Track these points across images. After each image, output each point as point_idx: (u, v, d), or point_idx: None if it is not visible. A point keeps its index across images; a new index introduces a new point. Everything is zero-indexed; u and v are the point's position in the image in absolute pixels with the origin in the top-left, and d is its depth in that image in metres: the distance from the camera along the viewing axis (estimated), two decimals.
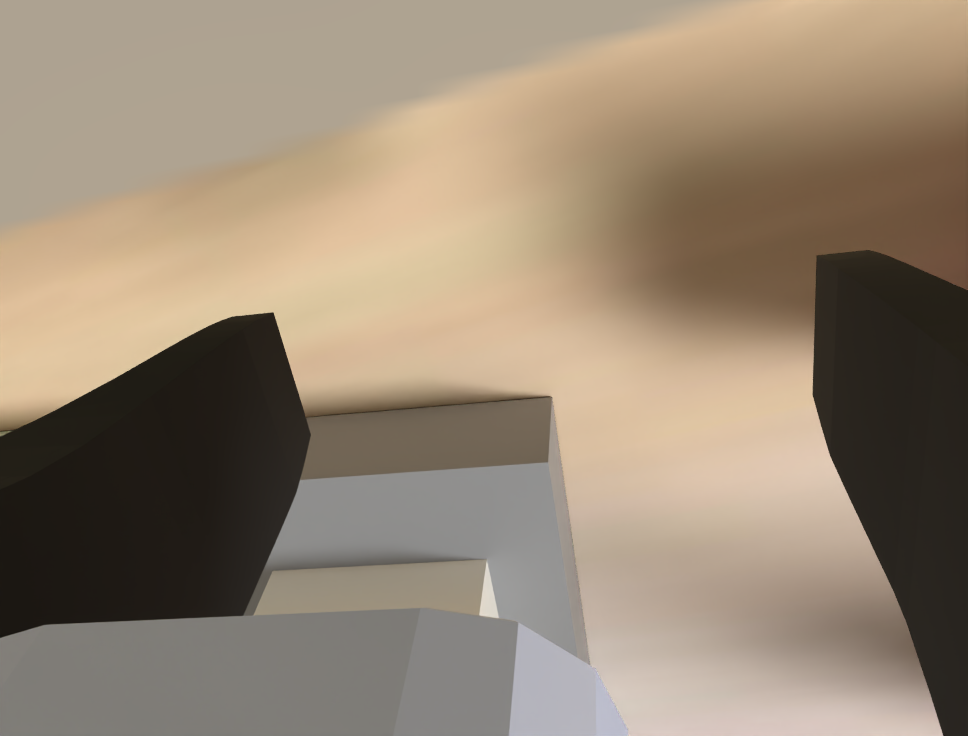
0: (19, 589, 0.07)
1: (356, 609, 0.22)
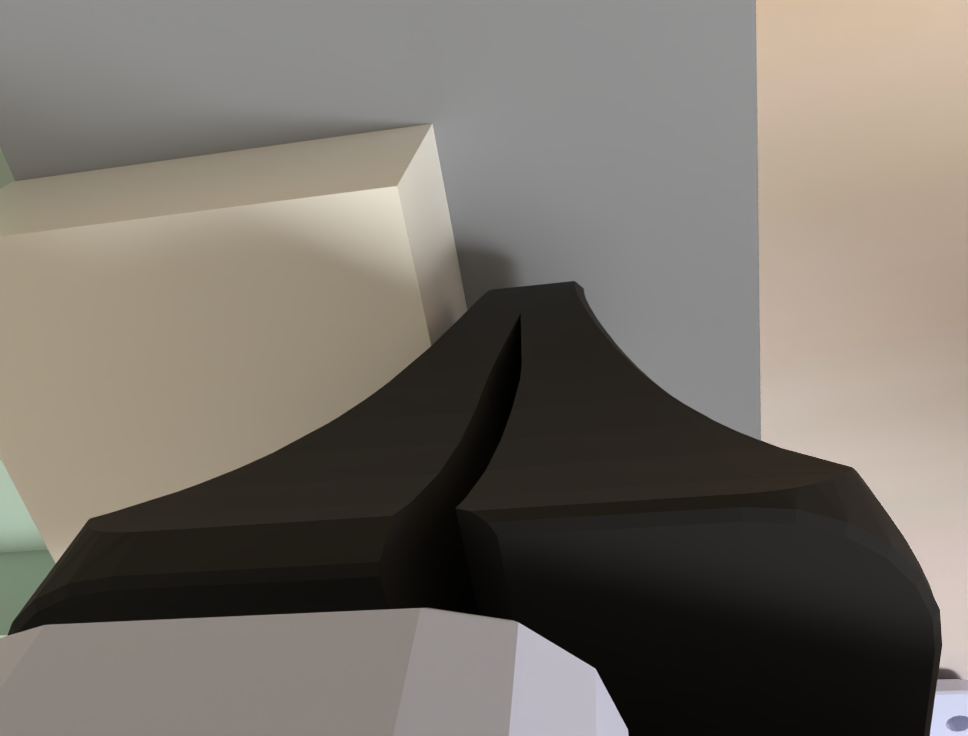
0: (463, 566, 0.06)
1: (149, 195, 0.10)
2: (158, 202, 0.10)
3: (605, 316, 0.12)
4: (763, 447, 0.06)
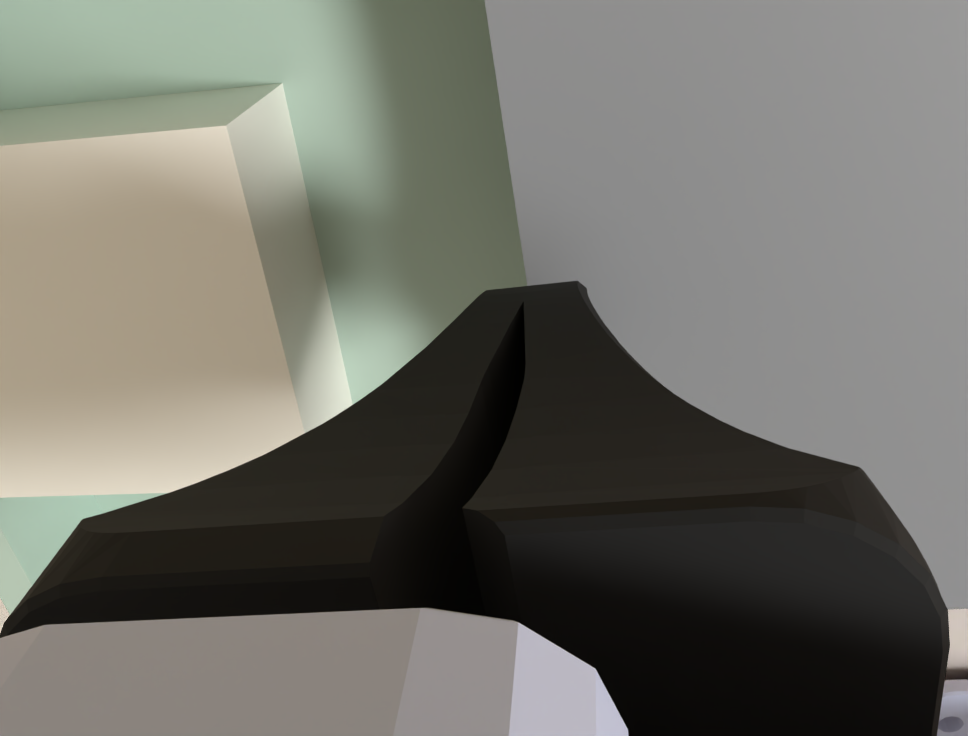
0: (456, 566, 0.06)
1: (88, 113, 0.13)
2: (83, 108, 0.14)
3: None
4: (769, 446, 0.05)
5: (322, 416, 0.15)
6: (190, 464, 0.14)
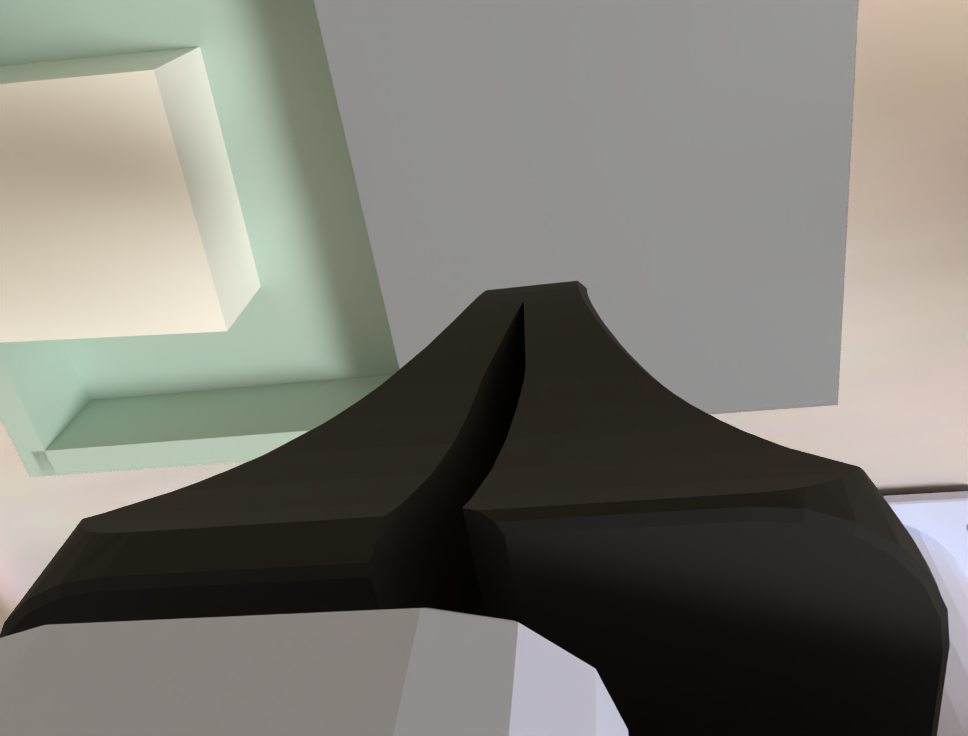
0: (456, 566, 0.06)
1: (66, 65, 0.20)
2: (62, 63, 0.20)
3: (740, 160, 0.18)
4: (769, 447, 0.05)
5: (232, 283, 0.21)
6: (137, 314, 0.21)
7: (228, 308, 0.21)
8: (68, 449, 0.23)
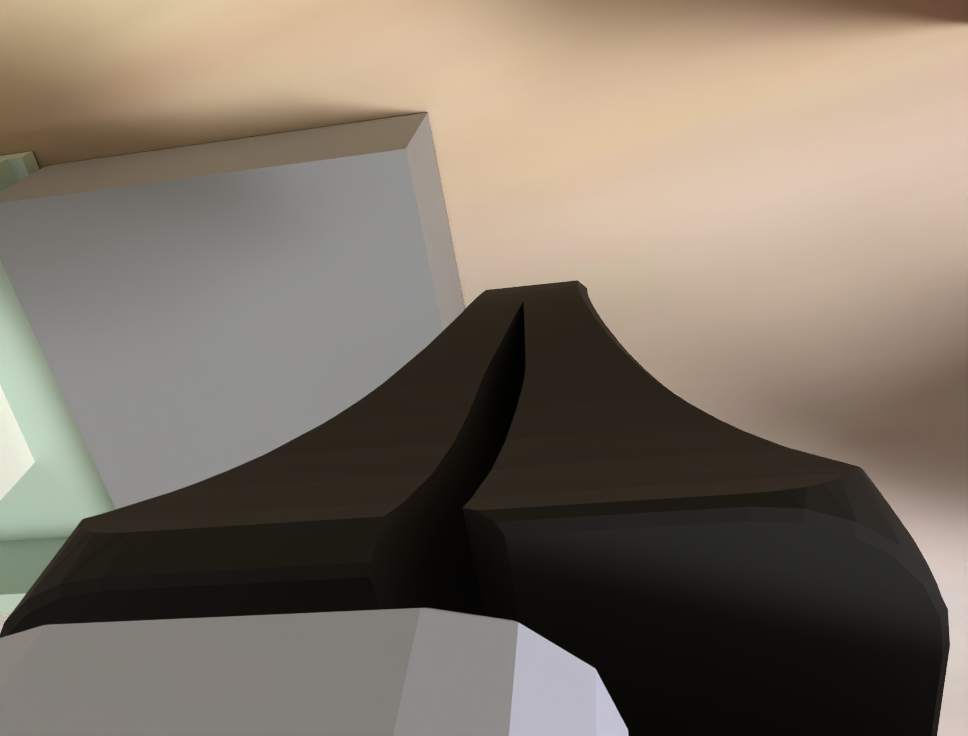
0: (457, 566, 0.06)
1: None
2: None
3: None
4: (769, 446, 0.05)
5: None
6: None
7: None
8: None
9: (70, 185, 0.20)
